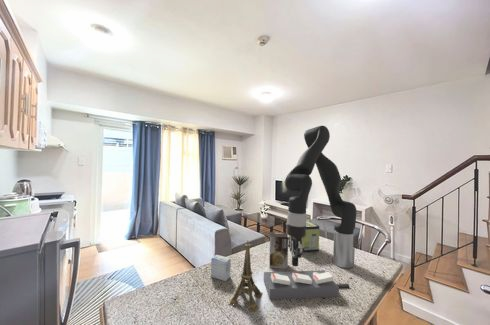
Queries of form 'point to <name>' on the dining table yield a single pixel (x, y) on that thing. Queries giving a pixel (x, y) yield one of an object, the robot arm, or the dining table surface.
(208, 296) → the dining table surface
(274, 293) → the switch panel
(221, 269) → the medicine box
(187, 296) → the dining table surface
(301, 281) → the block
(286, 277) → the block
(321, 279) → the rocker
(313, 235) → the protein box
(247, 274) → the eiffel tower
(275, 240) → the coffee box
